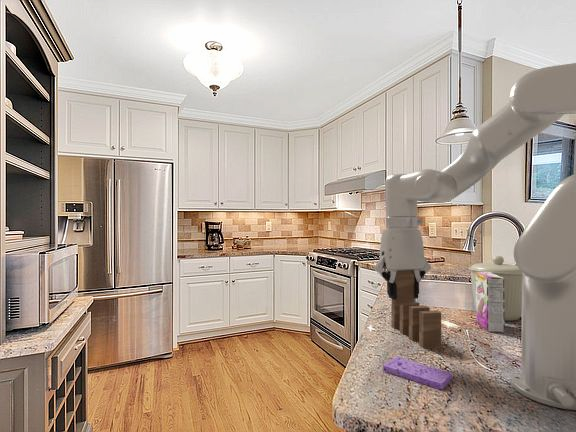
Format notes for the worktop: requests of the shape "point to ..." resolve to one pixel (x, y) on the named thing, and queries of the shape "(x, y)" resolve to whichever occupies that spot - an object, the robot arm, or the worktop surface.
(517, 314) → the canister
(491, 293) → the candy bar box
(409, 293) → the tile
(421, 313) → the tile
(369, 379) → the worktop surface
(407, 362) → the sponges
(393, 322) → the tile
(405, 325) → the tile
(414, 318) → the tile
